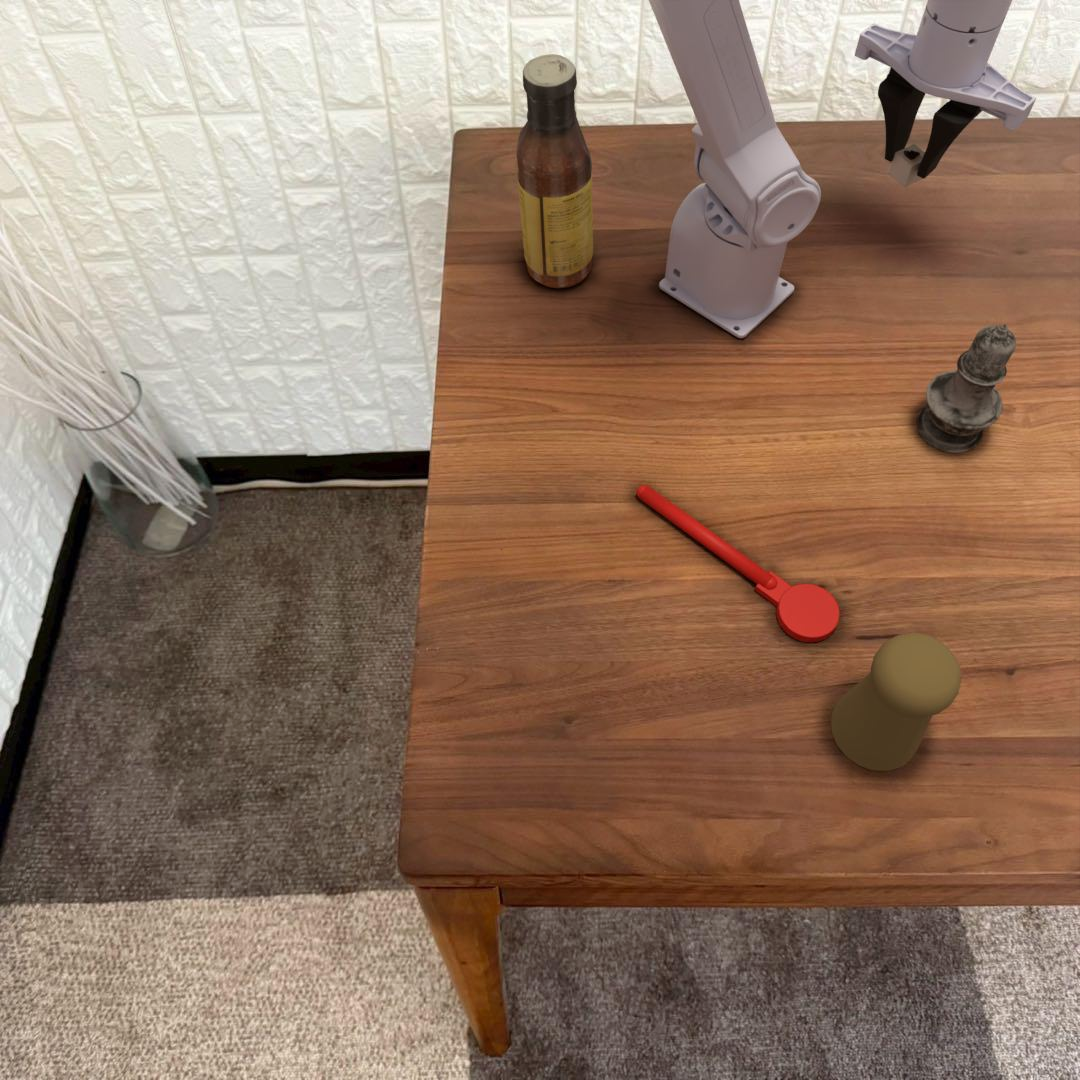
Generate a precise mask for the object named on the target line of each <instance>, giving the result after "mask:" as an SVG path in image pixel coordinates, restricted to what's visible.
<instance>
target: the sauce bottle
mask: <svg viewBox="0 0 1080 1080" xmlns="http://www.w3.org/2000/svg"><path fill="white" fill-rule="evenodd" d="M577 85H578V80H577V69H576V66H575V64H574V63H573V62H572V61H571V60H570V59H569V58H567V57H565V56H563V55H561V54H554V53H550V54H543V55H539V56H537V57H534V58H531V59H530V60H528V62H527V63H525V65H524V67H523V69H522V87H523V90H524V92H525V93H526V104H527V105H526V107H527V110H526V111H527V112H526V119H527V121H526V123H525V124H524V126H523V127H522V129H521V130H520V132H519V136H518V139H517V146H516V151H515V152H516V162H517V163H516V164H517V176H516V177H517V189H518V198H519V199H518V201H519V211H520V221H521V234H522V244H523V245H522V247H523V256H524V260H525V262H526V267H527V272H528V275H529V277H531V278H532V279H533V280H534V281H536V282H537V283H539V284H541V285H542V286H544V287H547V288H553V289H563V288H571V287H573V286H576V285H577V284H579V283H582V281H583V280H585V279H586V278H587V277H588V274H589V273H590V272H591V269H592V266H593V263H592V262H593V260H592V259H593V255H594V215H593V214H594V213H593V212H594V211H593V210H594V209H593V205H594V204H593V162H592V156H591V152H590V150H589V148H588V146H587V143H586V140H585V137H584V135H583V132H582V129H581V126H580V123H579V120H578V117H577V111H576V99H575V97H576V96H575V90H576V88H577Z"/></svg>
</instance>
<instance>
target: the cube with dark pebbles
mask: <svg viewBox="0 0 1080 1080" xmlns="http://www.w3.org/2000/svg"><path fill="white" fill-rule="evenodd" d="M924 154H925V151H924V150H922V149H921V148H920V147H919V146H918V145H916V144H915V143H912V144H911V145H909V146H905V148H904V149H902V150H900V151H898V152H895V155H894V158H893V161H892V162H890V167H889V169H888V171H887V175H888V176H889V177H890V178H892V179H893V180H894V181H896V183H898V184H899V185H900V186H902V188H907V187H909V186H911V185H912V184H915V183H917V182H919V181H922V180H923V178H921V177H919V176H917V172H918V168H919V165H920V163H921V161H922V158H923V156H924Z"/></svg>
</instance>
